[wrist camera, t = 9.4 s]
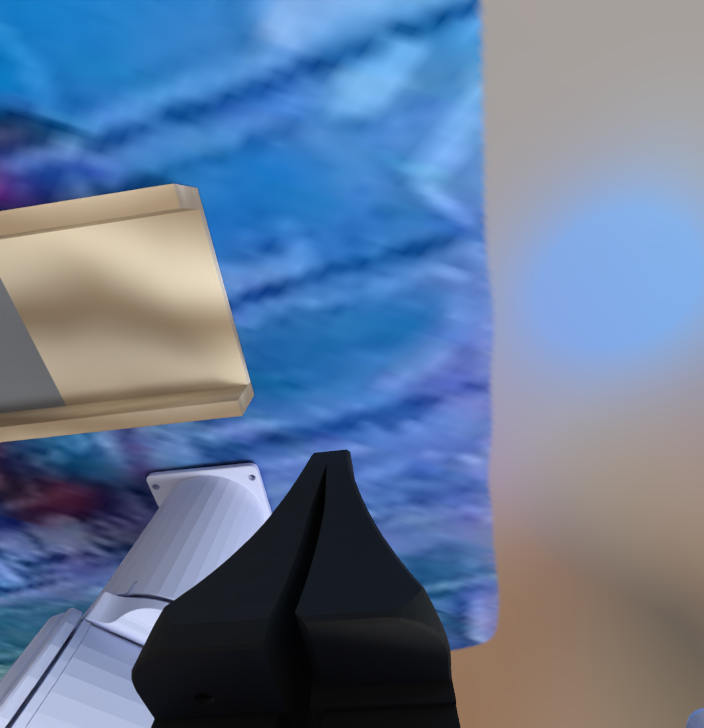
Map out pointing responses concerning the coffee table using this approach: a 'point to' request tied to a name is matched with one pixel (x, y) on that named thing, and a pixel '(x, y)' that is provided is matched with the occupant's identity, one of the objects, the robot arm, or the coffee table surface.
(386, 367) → the coffee table surface
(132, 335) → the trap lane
